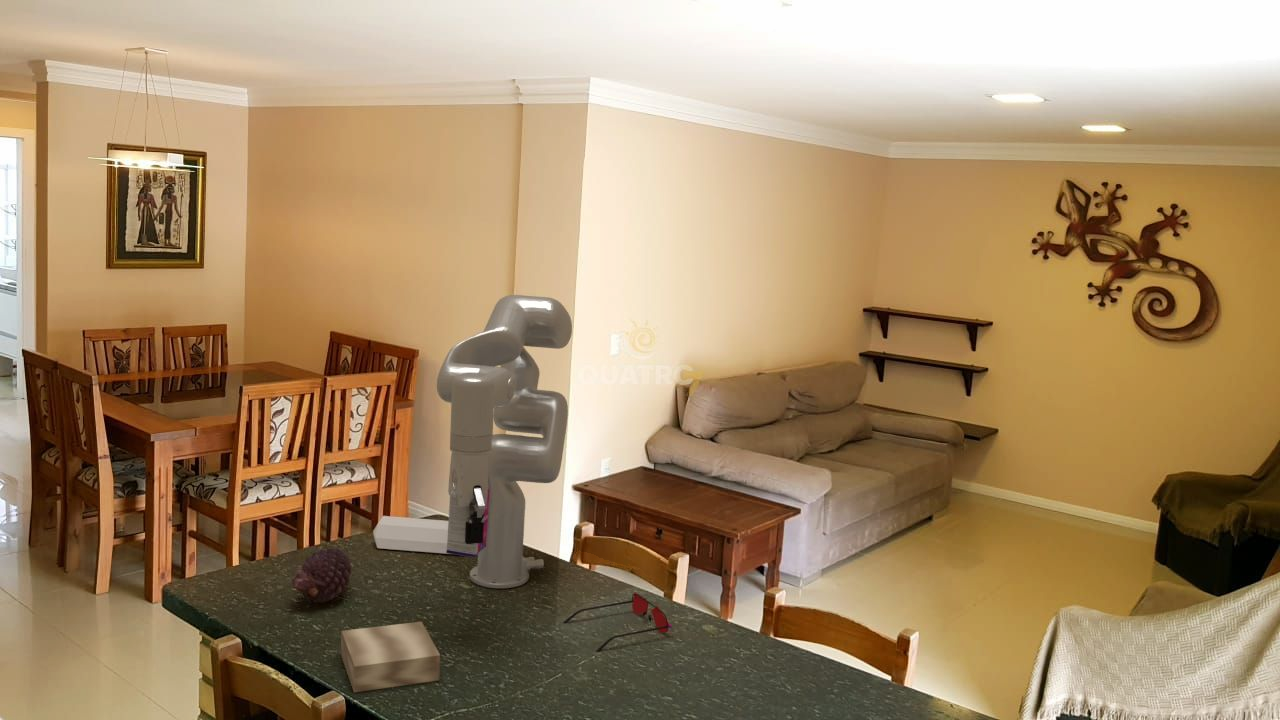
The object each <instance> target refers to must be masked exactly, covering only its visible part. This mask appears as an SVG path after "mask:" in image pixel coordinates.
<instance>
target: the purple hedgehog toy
mask: <svg viewBox="0 0 1280 720" xmlns="http://www.w3.org/2000/svg"><path fill="white" fill-rule="evenodd" d="M351 571H352V566H351V560H350V557H348V556H347V555H346V554H344V551H343V550H341V549H340V548H337V547H336V548H331V547H330V548H328V549H321V550H320V551H317V552H313V553H312V554H311V556H309V557H307V558H306V559H305V561H304V563H303V564H302V566H301V569H297V570H296V575H295V576H294V578H292V580H291V584H292V586H293V587H294V588H295V589H297V591H298V592H301V593H303V596H304V597H306V599H307V601H308V602H311V600H312V602H314V603H315V604H316V603H326V602H328V601H330V600H331V601H332V599H333V598H338V597H339V596H340V594H341V593H342V592H345V590H346V585H348V584H349V583H350V581H351V579H350V576H351V574H352V572H351Z"/></svg>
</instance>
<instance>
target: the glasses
mask: <svg viewBox="0 0 1280 720" xmlns="http://www.w3.org/2000/svg"><path fill="white" fill-rule="evenodd" d="M647 599H648V598H647V597H645V598H644V597H643V596H641V594H639V593H637V592H636V591H635V592H634V593H633V594H632V597H631V600H628V601H627V600H626V601H621V602H616V603H615V602H614V603H609V604H605V605H600V606H593V607H588V608H582V609H579V610H577V611H576V612H574V613H573V614H571V615H570V616H569V617H568V618H566V619H565V620H564V621H563V622H562V623H563V624H568V622H570V621H571V620H572V619H573V618H574V617H576V616H577V615H578V614H580V613H582V612H584V611H591V610H595V609H597V610H598V609H602V608H608V607H613V606H619V605H625V604H631V603H632V604H631V608H632V611H633V613H634V614H636V615H640V614H641V615H642V616H643V617H644V616H645V615H647V614H648V612H649V604H650V605H651V606H652V607H653V609H651V610H650V612H651V614H648V615H647V616H648V617H647V618H648V621H649V622H652V621H654V623H655V626H656V627H653V628H647V629H642V630H636V631H632V632H628V633H621V634H617V635H613V636H611V637H609V638H608V639H607V640H606V641H604V643H603V644H601V646H599V648H597V650H595V652H597V653H599V652H600V651H602V650H603V649H604V648H605V647H606V646H607V645H608V644H609V643H610V642H611V641H613V640H615V639H617V638H621V637H627V636H631V635H633V636H634V635H637V634H642V633H647V632H648V633H649V632H653V631H657V632H659V633H660V634H663V633H666V632H669V629H671V628H673V626H672V624H671V623H670V622H669V621H668V618H667V615H666V614H665V613H664V612H663V611H662V610H661V609H660V607H659V606H658V605H657V606H655V605H654V604H653V603H651V602H650V601H649V600H647Z"/></svg>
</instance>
